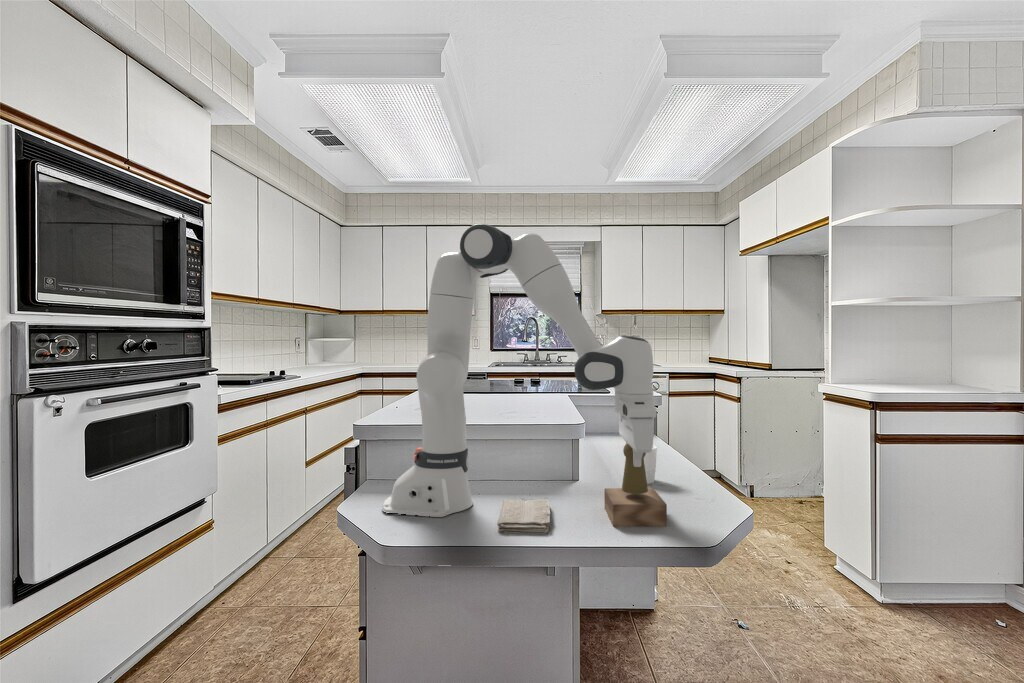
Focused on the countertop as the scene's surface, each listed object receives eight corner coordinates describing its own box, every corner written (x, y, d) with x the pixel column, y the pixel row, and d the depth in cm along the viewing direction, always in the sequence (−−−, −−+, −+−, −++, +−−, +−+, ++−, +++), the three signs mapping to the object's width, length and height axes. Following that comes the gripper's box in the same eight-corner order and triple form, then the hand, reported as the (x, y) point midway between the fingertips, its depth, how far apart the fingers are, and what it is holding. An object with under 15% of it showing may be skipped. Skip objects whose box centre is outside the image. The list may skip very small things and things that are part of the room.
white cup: (656, 485, 151) (656, 450, 150) (628, 483, 153) (628, 449, 152) (656, 478, 158) (656, 444, 158) (629, 476, 160) (629, 443, 160)
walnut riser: (613, 526, 120) (613, 504, 119) (604, 508, 132) (604, 488, 131) (666, 526, 119) (666, 504, 119) (653, 508, 131) (653, 488, 131)
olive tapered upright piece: (649, 494, 122) (649, 446, 122) (622, 493, 123) (622, 446, 123) (646, 486, 128) (646, 441, 128) (621, 485, 129) (620, 440, 129)
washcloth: (496, 535, 116) (496, 521, 116) (501, 507, 134) (501, 495, 134) (551, 536, 116) (551, 522, 115) (549, 508, 133) (549, 496, 133)
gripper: (612, 398, 135) (612, 452, 136) (629, 411, 115) (629, 474, 115) (637, 398, 135) (637, 452, 136) (658, 411, 115) (658, 474, 115)
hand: (634, 463), depth 125 cm, fingers closed on olive tapered upright piece, 4 cm apart
